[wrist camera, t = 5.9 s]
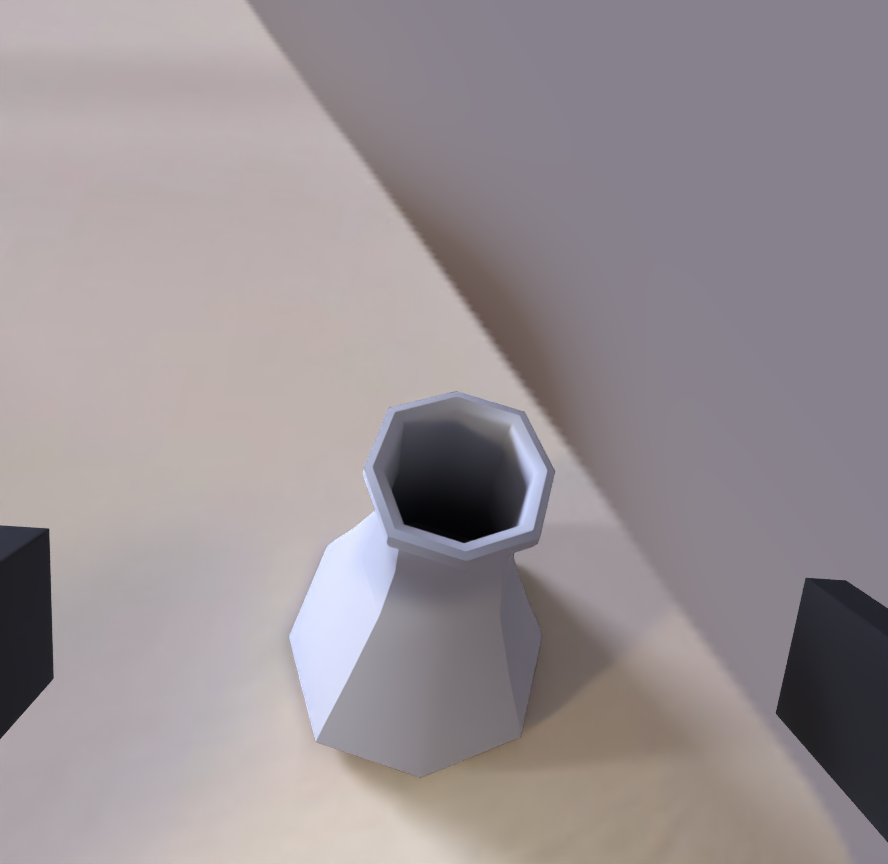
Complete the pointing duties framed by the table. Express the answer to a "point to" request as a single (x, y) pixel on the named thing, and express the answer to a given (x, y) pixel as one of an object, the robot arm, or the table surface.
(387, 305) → the table surface
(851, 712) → the robot arm
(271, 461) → the table surface
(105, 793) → the table surface
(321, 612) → the flask
